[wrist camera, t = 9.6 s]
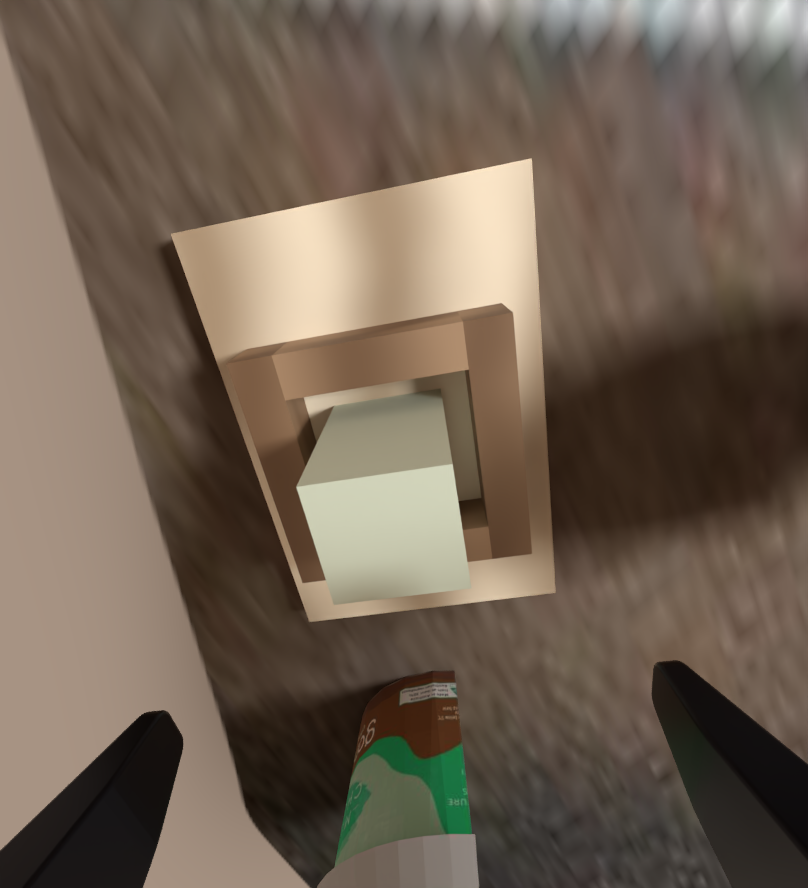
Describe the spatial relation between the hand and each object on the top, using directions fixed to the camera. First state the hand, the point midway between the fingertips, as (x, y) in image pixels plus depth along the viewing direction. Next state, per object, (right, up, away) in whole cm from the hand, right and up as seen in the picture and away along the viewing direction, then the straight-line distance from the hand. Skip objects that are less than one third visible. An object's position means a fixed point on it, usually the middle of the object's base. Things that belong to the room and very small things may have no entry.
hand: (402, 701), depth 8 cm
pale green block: (0, +5, +9) cm, 10 cm away
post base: (0, +5, +10) cm, 11 cm away
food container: (-1, -11, +18) cm, 21 cm away
